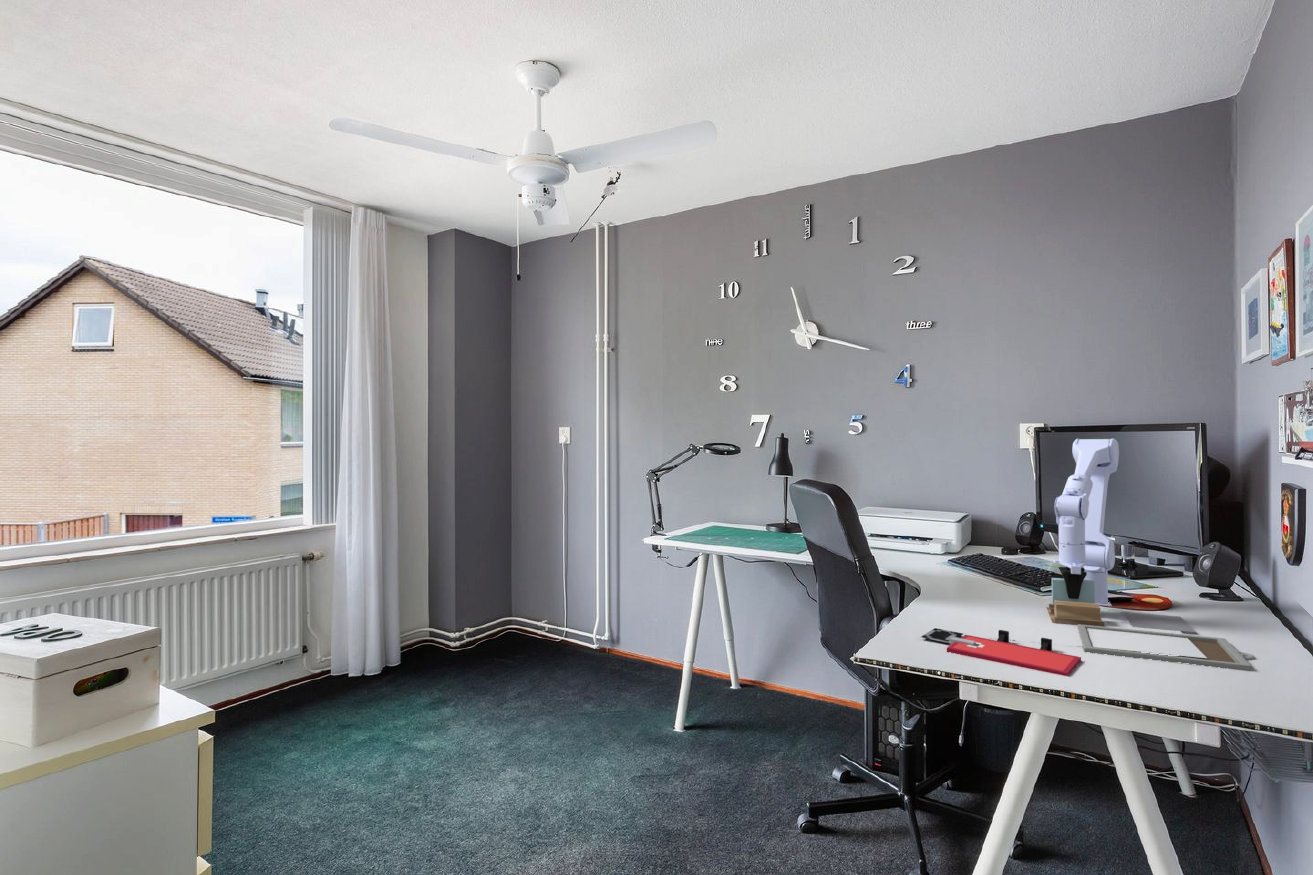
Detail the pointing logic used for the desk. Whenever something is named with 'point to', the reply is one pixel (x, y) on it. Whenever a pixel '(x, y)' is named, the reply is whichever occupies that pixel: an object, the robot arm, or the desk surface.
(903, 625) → the desk surface
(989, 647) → the red board with handle
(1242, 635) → the desk surface
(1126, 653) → the grey flat rectangular frame
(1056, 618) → the rack
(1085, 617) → the offcut
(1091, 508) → the robot arm
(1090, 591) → the pale teal block
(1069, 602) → the offcut
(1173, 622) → the mat
